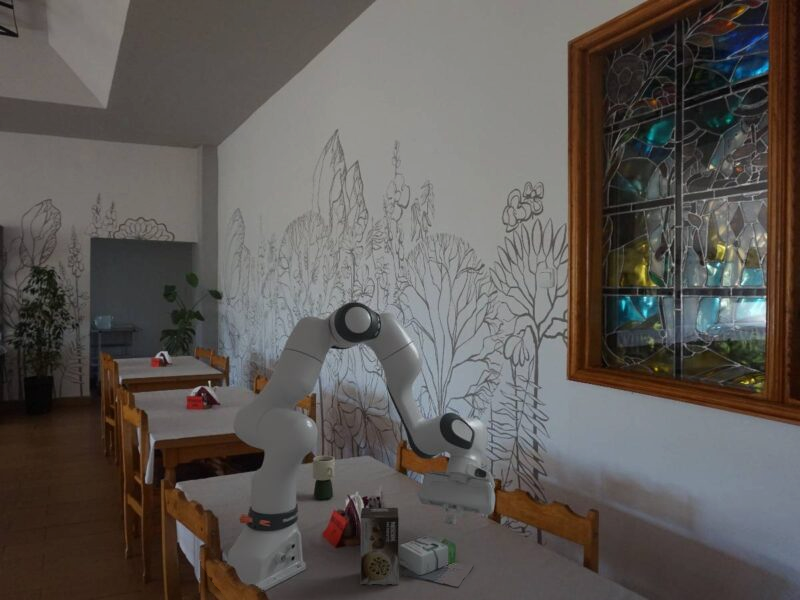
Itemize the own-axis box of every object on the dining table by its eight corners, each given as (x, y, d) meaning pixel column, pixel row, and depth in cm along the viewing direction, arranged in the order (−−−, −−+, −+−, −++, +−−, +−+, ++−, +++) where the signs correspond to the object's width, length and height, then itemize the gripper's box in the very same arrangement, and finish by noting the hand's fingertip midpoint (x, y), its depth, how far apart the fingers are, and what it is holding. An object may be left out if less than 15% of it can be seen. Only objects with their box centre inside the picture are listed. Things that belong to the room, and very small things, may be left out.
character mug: (341, 500, 202) (342, 460, 202) (322, 505, 198) (323, 464, 197) (324, 491, 211) (324, 452, 210) (305, 495, 206) (306, 456, 206)
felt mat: (458, 587, 145) (458, 585, 145) (403, 575, 151) (403, 573, 151) (473, 566, 156) (473, 565, 156) (421, 555, 162) (421, 554, 162)
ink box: (456, 543, 157) (421, 556, 149) (456, 563, 157) (421, 576, 150) (433, 532, 164) (398, 544, 156) (433, 551, 164) (398, 564, 156)
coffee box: (397, 572, 152) (399, 507, 152) (398, 585, 146) (399, 517, 146) (360, 572, 152) (361, 506, 152) (359, 585, 146) (360, 516, 145)
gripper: (423, 463, 170) (408, 510, 162) (496, 474, 162) (485, 524, 153) (429, 475, 175) (414, 522, 166) (500, 486, 166) (489, 536, 158)
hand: (449, 523), depth 160 cm, fingers closed
